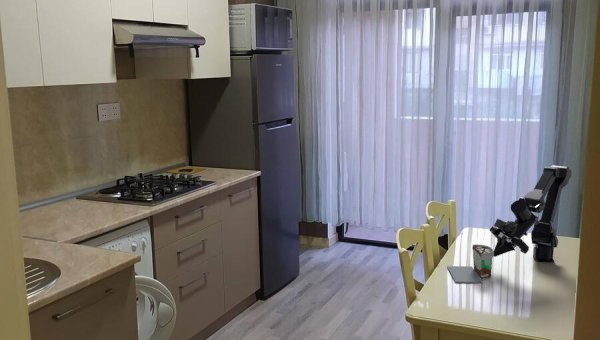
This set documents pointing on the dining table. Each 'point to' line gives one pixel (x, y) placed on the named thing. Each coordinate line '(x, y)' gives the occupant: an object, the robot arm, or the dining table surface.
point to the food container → (482, 260)
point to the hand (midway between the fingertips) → (493, 255)
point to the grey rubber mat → (464, 274)
